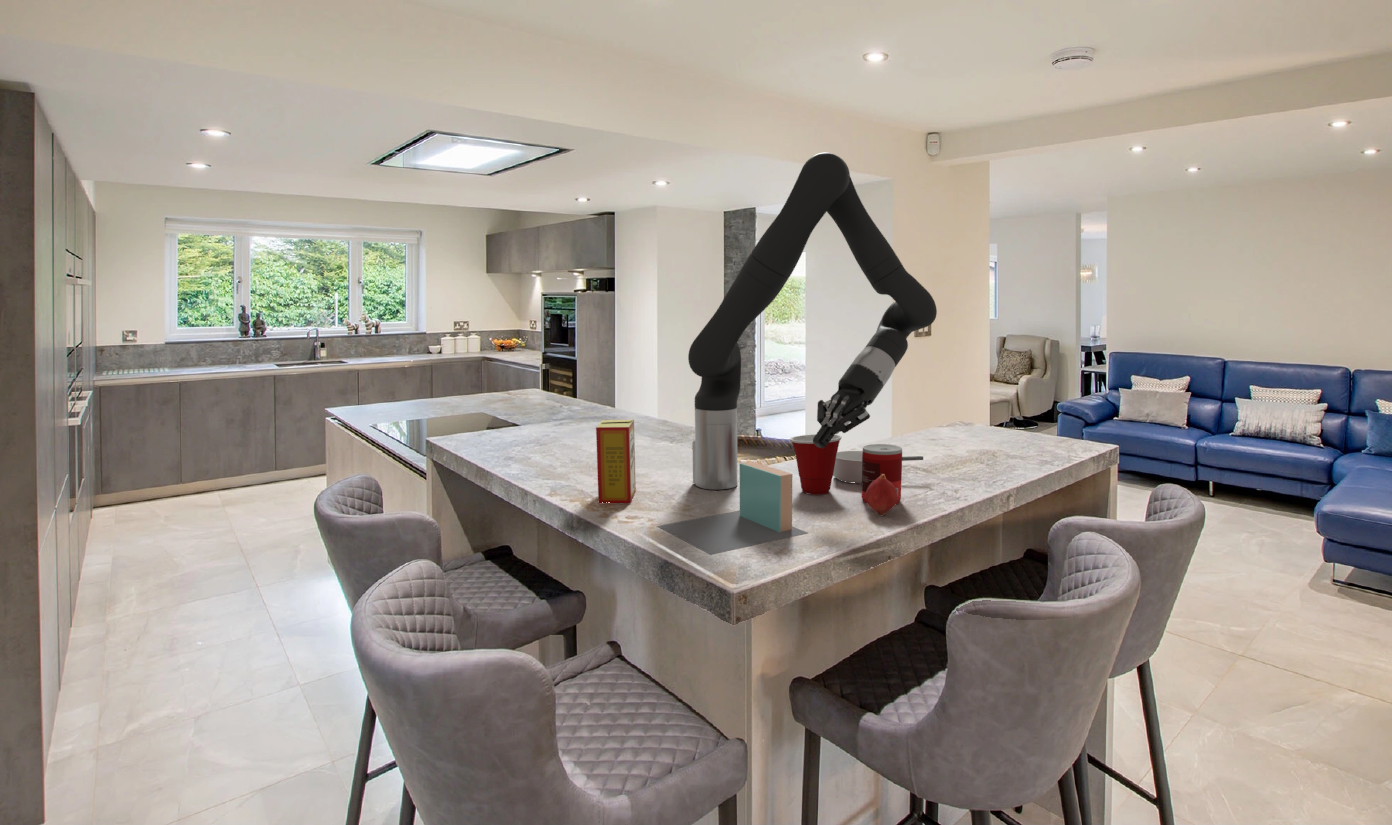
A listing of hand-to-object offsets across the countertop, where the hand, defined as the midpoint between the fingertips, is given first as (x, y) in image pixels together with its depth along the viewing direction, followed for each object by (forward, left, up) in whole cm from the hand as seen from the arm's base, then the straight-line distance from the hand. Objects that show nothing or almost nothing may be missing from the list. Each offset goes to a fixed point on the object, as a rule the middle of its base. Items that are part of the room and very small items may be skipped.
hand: (817, 445), depth 140 cm
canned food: (+2, +17, -14) cm, 22 cm away
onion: (+8, +9, -14) cm, 18 cm away
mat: (-3, -19, -13) cm, 24 cm away
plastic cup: (-12, +13, -14) cm, 22 cm away
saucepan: (-10, +31, -14) cm, 35 cm away
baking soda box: (-36, -21, -14) cm, 44 cm away
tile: (-2, -12, -13) cm, 18 cm away
